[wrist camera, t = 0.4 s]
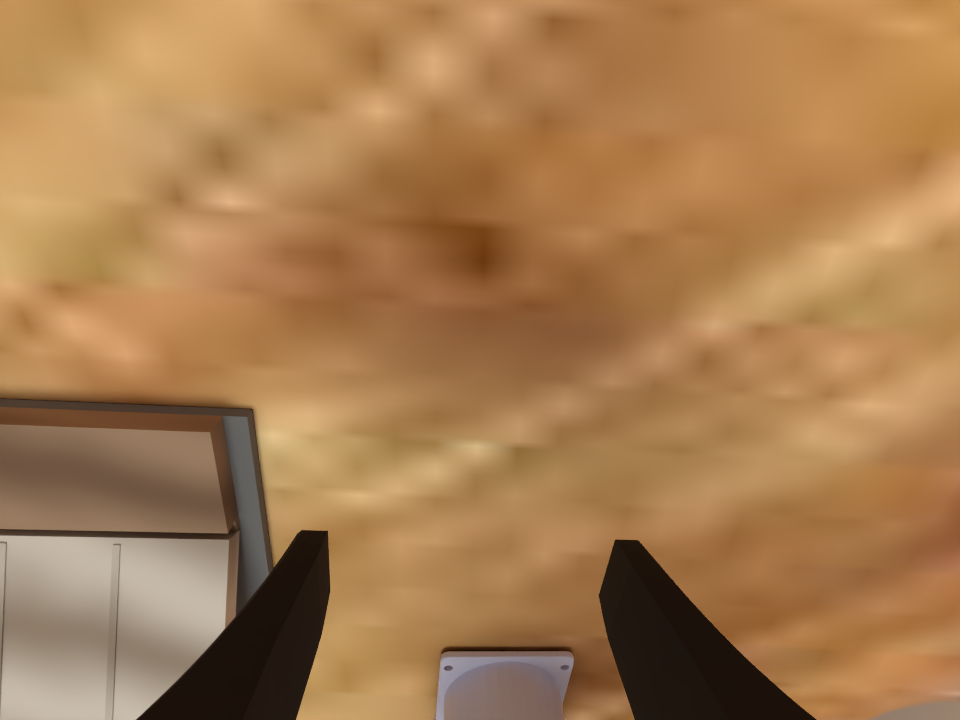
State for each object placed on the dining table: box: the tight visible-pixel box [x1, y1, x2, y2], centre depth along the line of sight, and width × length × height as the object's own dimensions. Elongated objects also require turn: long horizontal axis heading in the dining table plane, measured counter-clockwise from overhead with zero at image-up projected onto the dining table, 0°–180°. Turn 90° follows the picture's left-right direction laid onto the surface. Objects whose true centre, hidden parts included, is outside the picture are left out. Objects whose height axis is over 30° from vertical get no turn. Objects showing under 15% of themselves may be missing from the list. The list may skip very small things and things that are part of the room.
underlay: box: [0, 399, 273, 615], centre depth 25 cm, size 22×16×1 cm
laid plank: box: [0, 407, 240, 534], centre depth 21 cm, size 6×14×1 cm, turn 85°
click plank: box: [0, 529, 240, 720], centre depth 22 cm, size 10×14×1 cm
